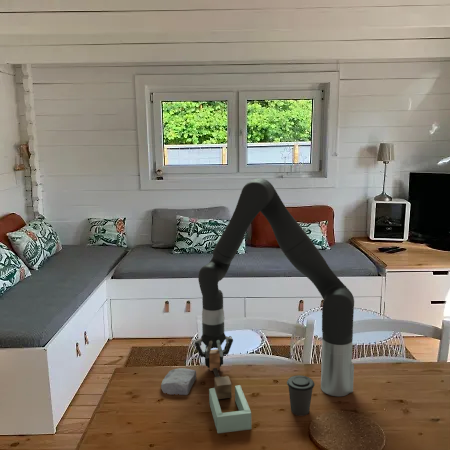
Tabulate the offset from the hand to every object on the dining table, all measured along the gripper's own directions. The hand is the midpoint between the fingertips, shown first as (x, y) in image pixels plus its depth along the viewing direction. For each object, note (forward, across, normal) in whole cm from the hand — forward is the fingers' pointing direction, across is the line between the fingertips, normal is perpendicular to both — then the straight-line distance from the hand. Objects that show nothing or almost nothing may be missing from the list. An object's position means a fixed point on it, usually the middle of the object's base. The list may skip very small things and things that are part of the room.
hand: (214, 365), depth 166 cm
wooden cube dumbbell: (+1, 0, +9) cm, 9 cm away
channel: (+1, 0, +27) cm, 27 cm away
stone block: (+2, +13, +8) cm, 15 cm away
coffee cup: (+2, -21, +30) cm, 36 cm away
